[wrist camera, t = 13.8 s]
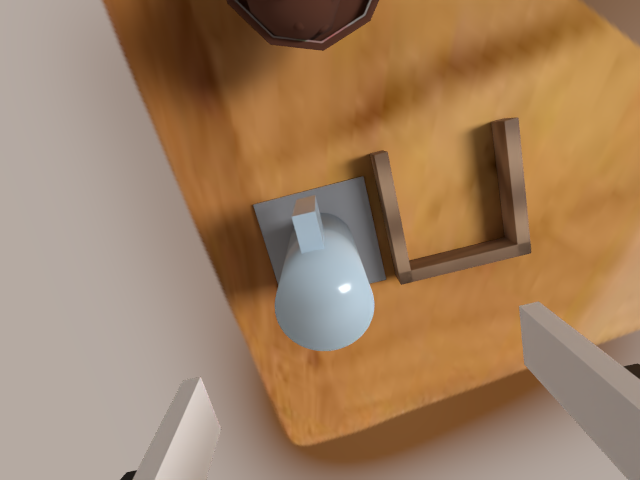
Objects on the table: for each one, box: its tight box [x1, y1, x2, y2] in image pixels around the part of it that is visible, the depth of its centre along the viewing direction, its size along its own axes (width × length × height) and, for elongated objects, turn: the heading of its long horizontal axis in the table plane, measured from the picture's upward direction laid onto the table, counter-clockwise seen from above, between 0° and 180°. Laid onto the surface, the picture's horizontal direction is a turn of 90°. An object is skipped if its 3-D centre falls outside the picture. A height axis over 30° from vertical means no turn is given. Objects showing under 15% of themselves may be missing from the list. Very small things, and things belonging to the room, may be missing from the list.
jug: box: [275, 195, 374, 351], centre depth 30 cm, size 6×9×14 cm
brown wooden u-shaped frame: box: [370, 118, 531, 285], centre depth 35 cm, size 13×13×2 cm
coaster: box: [253, 176, 386, 286], centre depth 37 cm, size 11×11×1 cm
